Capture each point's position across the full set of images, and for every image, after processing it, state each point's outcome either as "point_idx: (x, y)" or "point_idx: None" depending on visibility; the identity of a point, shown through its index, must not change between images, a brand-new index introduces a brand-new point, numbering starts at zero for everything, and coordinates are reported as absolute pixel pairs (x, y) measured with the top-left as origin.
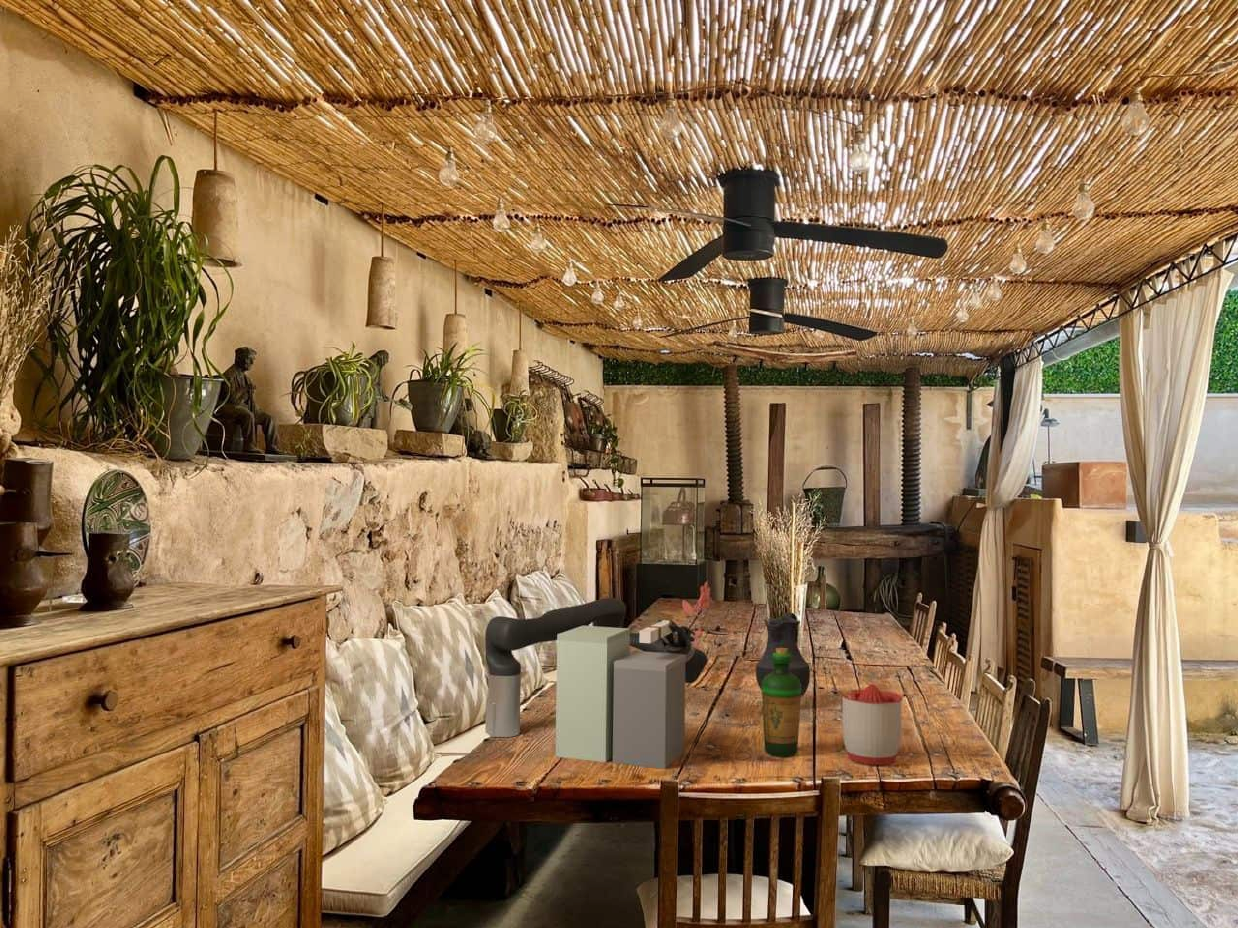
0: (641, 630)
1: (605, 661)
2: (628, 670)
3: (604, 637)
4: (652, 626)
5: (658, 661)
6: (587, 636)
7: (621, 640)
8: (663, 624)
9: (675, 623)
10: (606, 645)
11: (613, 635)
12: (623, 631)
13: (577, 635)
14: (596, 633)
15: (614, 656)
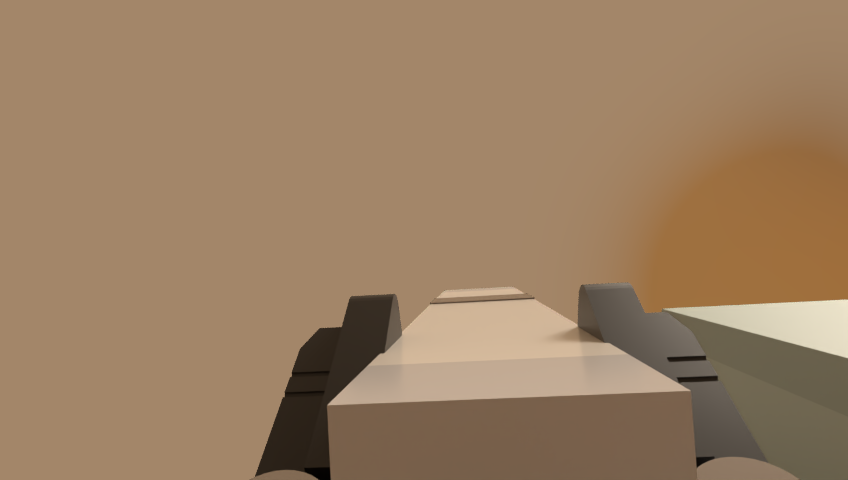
0: (510, 288)
1: None
2: None
3: (679, 308)
4: (505, 298)
5: None
6: (776, 303)
7: (777, 412)
8: (446, 316)
9: (296, 370)
10: None
11: (698, 320)
12: (798, 348)
13: (846, 301)
14: (843, 315)
15: None
